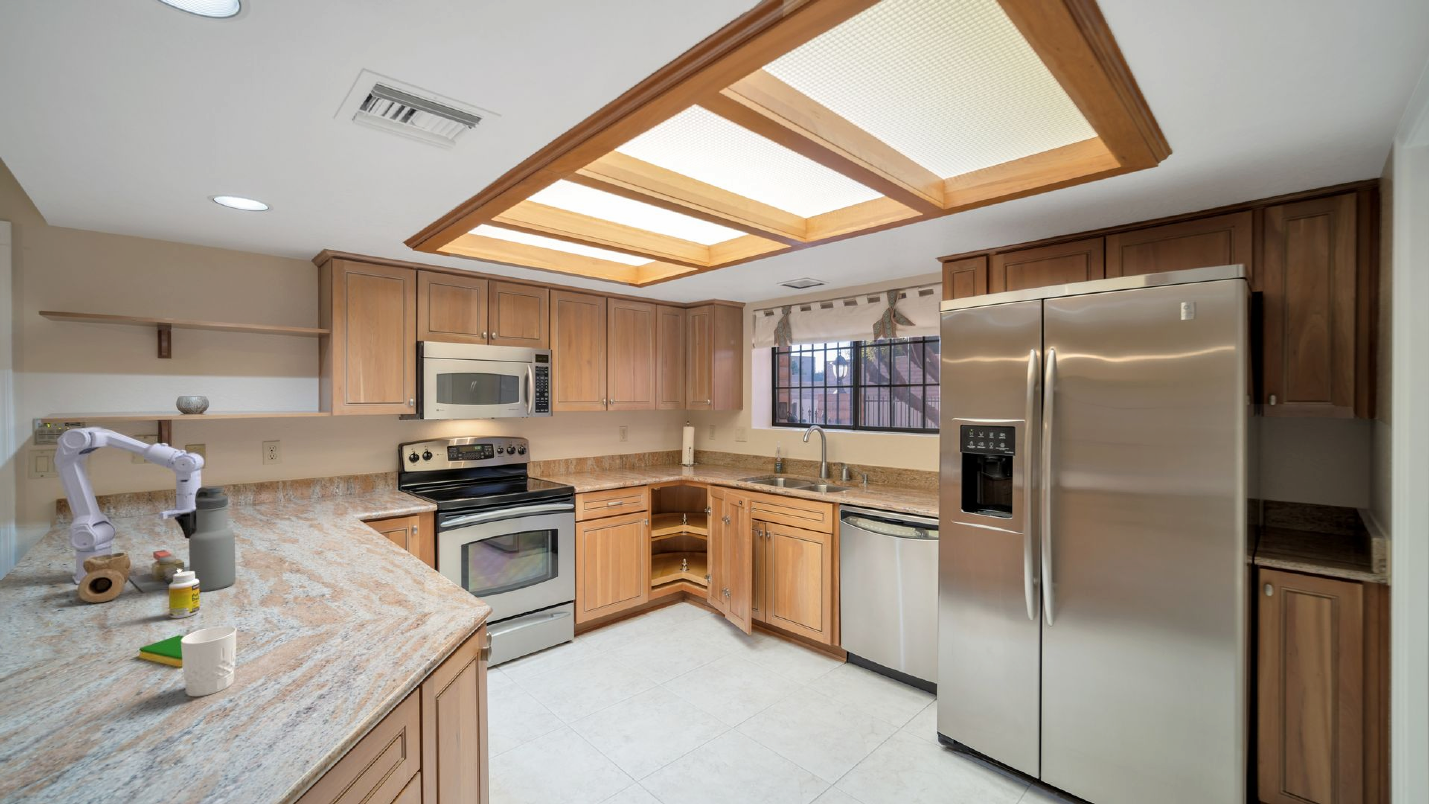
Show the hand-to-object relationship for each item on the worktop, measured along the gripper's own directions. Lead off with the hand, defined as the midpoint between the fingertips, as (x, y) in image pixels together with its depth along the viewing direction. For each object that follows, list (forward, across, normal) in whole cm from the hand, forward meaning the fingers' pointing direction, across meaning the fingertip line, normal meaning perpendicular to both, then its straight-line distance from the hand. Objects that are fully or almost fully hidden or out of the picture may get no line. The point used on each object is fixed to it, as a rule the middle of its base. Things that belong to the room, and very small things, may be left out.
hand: (189, 538), depth 180 cm
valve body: (+10, -7, -3) cm, 13 cm away
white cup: (+10, -47, -84) cm, 97 cm away
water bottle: (+10, -8, -22) cm, 26 cm away
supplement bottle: (+10, -25, -39) cm, 47 cm away
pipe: (+10, -22, -3) cm, 24 cm away
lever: (+5, -6, +1) cm, 8 cm away
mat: (+10, -6, -4) cm, 12 cm away
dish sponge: (+11, -40, -63) cm, 75 cm away
